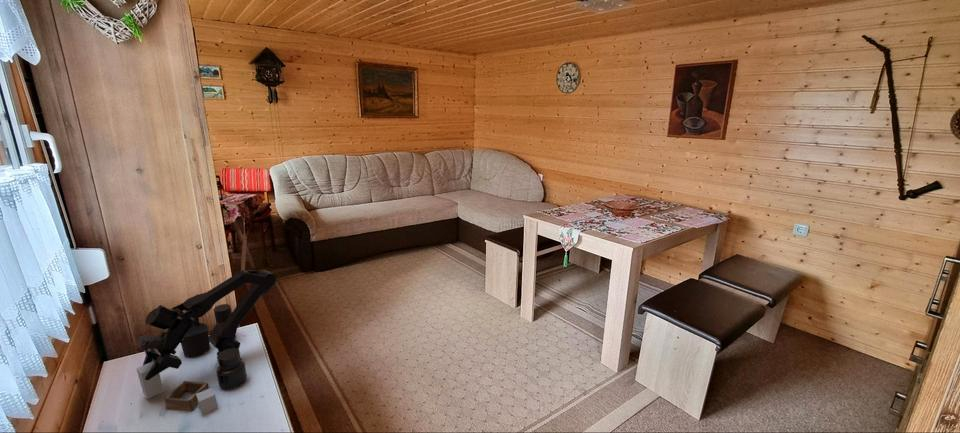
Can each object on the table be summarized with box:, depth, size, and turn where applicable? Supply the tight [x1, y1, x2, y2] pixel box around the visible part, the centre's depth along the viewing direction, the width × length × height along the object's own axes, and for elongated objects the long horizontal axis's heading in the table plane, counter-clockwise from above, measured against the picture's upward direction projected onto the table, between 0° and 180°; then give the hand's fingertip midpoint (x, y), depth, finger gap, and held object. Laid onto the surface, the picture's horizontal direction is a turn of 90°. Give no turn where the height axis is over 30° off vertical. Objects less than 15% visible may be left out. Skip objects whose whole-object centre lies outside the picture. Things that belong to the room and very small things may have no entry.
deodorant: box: [213, 303, 237, 340], centre depth 168 cm, size 6×6×15 cm
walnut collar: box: [163, 380, 210, 412], centre depth 137 cm, size 9×9×4 cm
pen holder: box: [180, 322, 211, 358], centre depth 161 cm, size 9×9×10 cm
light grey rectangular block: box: [136, 361, 165, 399], centre depth 136 cm, size 4×4×10 cm
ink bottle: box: [215, 348, 248, 391], centre depth 144 cm, size 10×9×12 cm
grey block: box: [196, 387, 219, 416], centre depth 134 cm, size 4×4×6 cm
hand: (143, 376), depth 135 cm, fingers closed on light grey rectangular block, 4 cm apart
